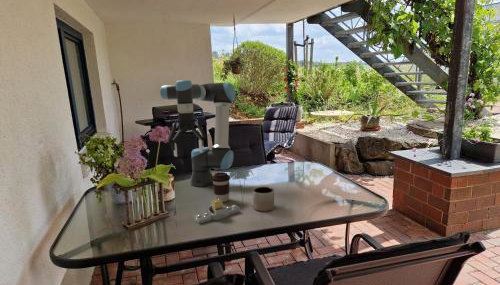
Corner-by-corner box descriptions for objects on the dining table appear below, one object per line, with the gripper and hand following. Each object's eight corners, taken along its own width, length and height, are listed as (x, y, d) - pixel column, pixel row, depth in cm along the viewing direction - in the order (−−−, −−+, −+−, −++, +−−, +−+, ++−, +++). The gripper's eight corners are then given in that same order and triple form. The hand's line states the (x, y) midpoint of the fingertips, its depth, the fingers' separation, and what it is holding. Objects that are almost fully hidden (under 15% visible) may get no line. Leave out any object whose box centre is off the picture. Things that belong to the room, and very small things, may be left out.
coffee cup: (233, 197, 179) (232, 171, 176) (226, 204, 169) (225, 176, 167) (217, 196, 182) (216, 170, 179) (210, 202, 173) (208, 175, 170)
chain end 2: (214, 213, 158) (213, 204, 157) (233, 208, 163) (232, 199, 163) (221, 218, 151) (221, 209, 150) (241, 213, 157) (240, 204, 156)
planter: (259, 213, 156) (259, 195, 154) (249, 206, 165) (249, 188, 163) (278, 209, 161) (278, 190, 159) (267, 202, 170) (267, 185, 168)
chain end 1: (193, 218, 152) (192, 210, 151) (214, 213, 158) (213, 204, 157) (200, 224, 145) (199, 215, 144) (221, 218, 151) (221, 209, 150)
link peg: (212, 215, 155) (211, 200, 153) (219, 213, 157) (218, 198, 156) (215, 218, 152) (214, 202, 150) (223, 216, 154) (222, 200, 152)
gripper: (163, 114, 146) (166, 159, 150) (212, 110, 160) (214, 152, 163) (158, 113, 153) (162, 156, 157) (205, 110, 166) (208, 149, 170)
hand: (188, 154), depth 160 cm, fingers open, 13 cm apart
